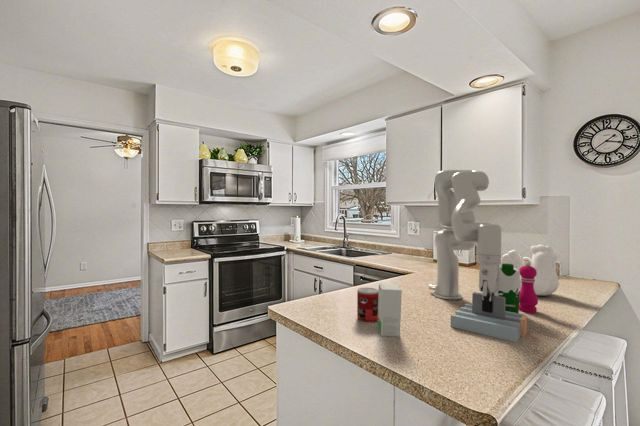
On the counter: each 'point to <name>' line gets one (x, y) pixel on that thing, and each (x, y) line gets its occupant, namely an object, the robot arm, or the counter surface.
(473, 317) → the rack
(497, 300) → the panel
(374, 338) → the counter surface
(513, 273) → the milk carton
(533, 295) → the pepper mill
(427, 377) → the counter surface
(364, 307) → the canned food
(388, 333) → the skincare box
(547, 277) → the decorative rooster
